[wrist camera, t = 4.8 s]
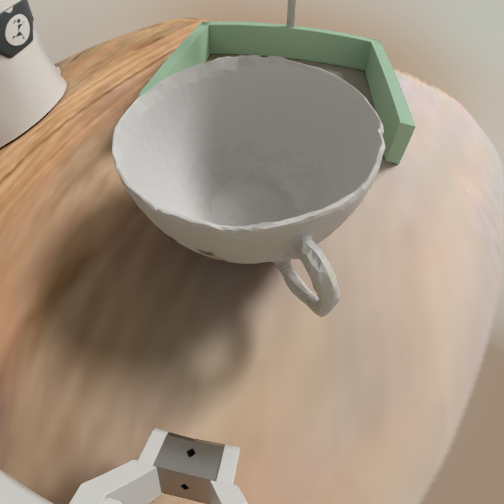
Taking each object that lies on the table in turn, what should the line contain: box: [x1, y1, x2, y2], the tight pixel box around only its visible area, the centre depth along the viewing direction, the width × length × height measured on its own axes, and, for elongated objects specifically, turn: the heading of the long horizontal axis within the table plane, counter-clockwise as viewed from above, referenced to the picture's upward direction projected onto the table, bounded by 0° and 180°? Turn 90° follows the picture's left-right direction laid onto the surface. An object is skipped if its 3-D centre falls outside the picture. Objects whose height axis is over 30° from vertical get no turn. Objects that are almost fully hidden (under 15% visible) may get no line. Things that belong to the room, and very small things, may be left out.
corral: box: [138, 0, 415, 164], centre depth 20 cm, size 20×17×16 cm
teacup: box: [112, 55, 385, 317], centre depth 16 cm, size 15×12×8 cm
